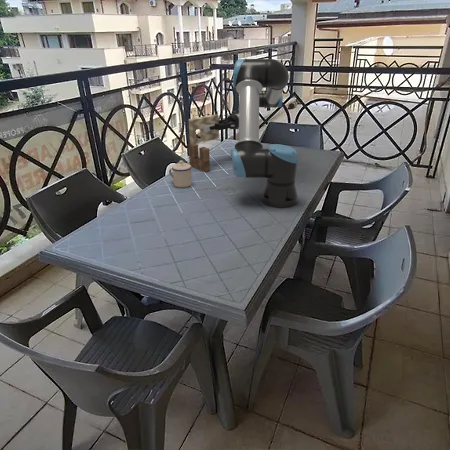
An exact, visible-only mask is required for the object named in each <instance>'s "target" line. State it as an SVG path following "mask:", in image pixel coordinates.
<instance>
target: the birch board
mask: <svg viewBox="0 0 450 450" xmlns="http://www.w3.org/2000/svg"><path fill="white" fill-rule="evenodd" d="M219 117H220V115H219V114H211V115H210V114H209V115H204V116H199V117H194V118H189V119H188V130H189V131H188V133H189V134H188V135H189V144H197V130H199V129H200V130H199V132H200V141H201V142H203V143H205V142H210V141H213V140H217V139H220V130H215V129H214V130H211V131H207V132H204V126H208V125H212V124H214V126H215V123H216V124H219V119H220V118H219ZM197 145H198V144H197Z"/></svg>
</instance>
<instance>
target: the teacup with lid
mask: <svg viewBox="0 0 450 450" xmlns="http://www.w3.org/2000/svg"><path fill="white" fill-rule="evenodd" d="M168 173H169V176H170V178H173V185H174V186H175V187H177V188H187V187H188V188H189V187H190V186H192V184H193V180H192V179H193V177H192V167H191V165H190V163H186V162H184V160H179V162H177V163H175V164H173V165H172V167H171V168H169V170H168Z"/></svg>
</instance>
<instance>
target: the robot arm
mask: <svg viewBox="0 0 450 450" xmlns="http://www.w3.org/2000/svg"><path fill="white" fill-rule="evenodd" d="M232 77H233V78H232V87H233V88H234V89H235V90H236V93H238V95H239V99H238V101H239V103H238V113H234V114H230V115H228V116H227V117H226V118H224V119H220V118H219V124H216V123H215V126H214V124H212V125H208V126H204V132H207V131H211V130H214V129H215V130H219V131H223V130H228V129H230V130H235V129H238V141H237V142H236V143H235V144H234V148H232V149H231V151H230V152H231V153H230V154H231V160H232V161H231V164H232V171H233V175H234V176H235V177H236V178H244V179H246V178H249V179H250V178H251V179H252V178H253V179H254V178H255V179H262V178H264V179H266V184H265V186H264V189H263V191H262V193H261V201H262V202H263V203H264V204H265V205H267V206H270V207H273V208H289V207H290V208H291V207H292V206H294V205H296V204H297V203H298V192H297V188H296V175H297V165H298V164H297V163H298V151H297V150H296V149H295V148H293V147H291V146H290V145H285V144H279V143H278V144H277V143H273V144H270V145H269V146H268V148H264V147H263V144H262V142H260V108H272V109H273V108H275V109H276V108H281V107H282V106H283V99H284V98H283V97H284V96H283V90H284V89H285V88H286V87H287V86H288V82H289V80H290V74H289V71H288V69H287V67H286V66H285V65H284V64H283V63H282V62H280V61H279V60H276V59H273V58H250V59H249V58H241V59H237V60H235V63H234V68H233V76H232ZM264 88H265V89H266V92H263V90H264ZM198 130H199V131H200V129H198Z"/></svg>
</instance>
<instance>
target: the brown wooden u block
mask: <svg viewBox="0 0 450 450" xmlns="http://www.w3.org/2000/svg"><path fill="white" fill-rule="evenodd" d="M187 147H188V159H189V163H188V164H190V165H191V166H192V167H191V168H194V169H196V168H197V170H198V171H201V172H203V173H208V172H210V171H211V163H210V160H211V157H210V148H208V147H205V146H202V147H201V146H200V147H199V144H191V143H189V144H188V145H187Z"/></svg>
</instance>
